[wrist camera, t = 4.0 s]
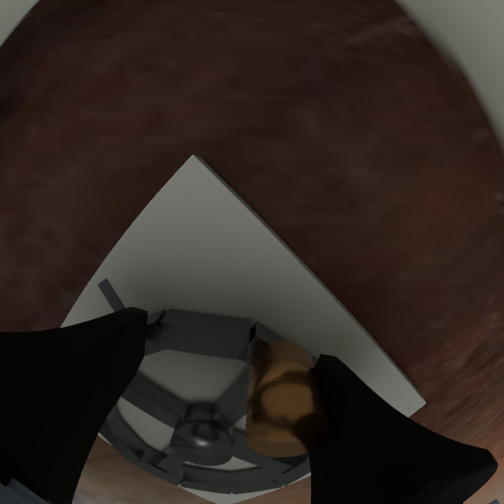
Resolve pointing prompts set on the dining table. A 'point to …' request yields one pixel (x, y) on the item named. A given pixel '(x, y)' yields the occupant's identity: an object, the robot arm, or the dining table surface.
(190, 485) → the handwheel
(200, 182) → the base plate
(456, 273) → the dining table surface
